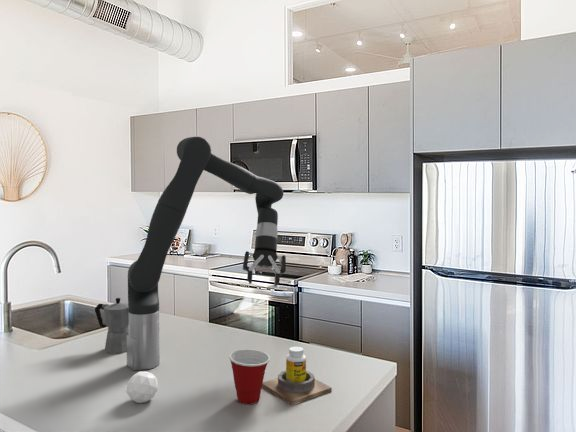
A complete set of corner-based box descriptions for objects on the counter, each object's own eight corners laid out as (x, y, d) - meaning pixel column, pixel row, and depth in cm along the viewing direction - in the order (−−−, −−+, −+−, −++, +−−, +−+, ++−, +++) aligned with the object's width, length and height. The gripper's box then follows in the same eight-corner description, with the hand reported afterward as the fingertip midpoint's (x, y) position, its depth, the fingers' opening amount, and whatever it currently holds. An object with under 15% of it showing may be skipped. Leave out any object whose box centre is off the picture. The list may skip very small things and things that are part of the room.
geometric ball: (150, 411, 118) (161, 393, 114) (119, 405, 115) (129, 386, 111) (153, 387, 124) (164, 368, 121) (125, 380, 121) (134, 361, 118)
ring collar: (291, 405, 116) (291, 391, 116) (261, 386, 127) (261, 374, 127) (331, 391, 125) (331, 378, 124) (300, 374, 136) (300, 363, 136)
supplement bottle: (293, 390, 122) (293, 353, 122) (282, 383, 127) (282, 347, 126) (309, 386, 125) (310, 349, 125) (298, 379, 130) (298, 344, 129)
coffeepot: (142, 346, 160) (142, 295, 159) (128, 355, 150) (128, 302, 150) (103, 343, 163) (102, 293, 162) (87, 352, 153) (86, 299, 152)
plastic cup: (264, 411, 113) (264, 364, 112) (223, 407, 115) (223, 360, 114) (274, 392, 123) (274, 349, 123) (236, 389, 125) (236, 346, 125)
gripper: (247, 232, 150) (242, 279, 144) (288, 236, 152) (286, 284, 146) (244, 239, 157) (240, 284, 151) (284, 243, 159) (282, 288, 153)
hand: (263, 284), depth 149 cm, fingers open, 8 cm apart
